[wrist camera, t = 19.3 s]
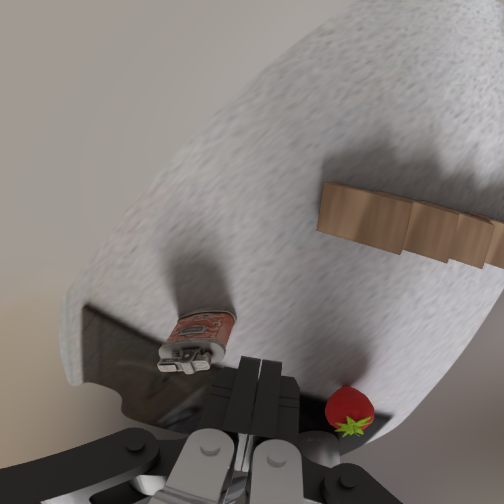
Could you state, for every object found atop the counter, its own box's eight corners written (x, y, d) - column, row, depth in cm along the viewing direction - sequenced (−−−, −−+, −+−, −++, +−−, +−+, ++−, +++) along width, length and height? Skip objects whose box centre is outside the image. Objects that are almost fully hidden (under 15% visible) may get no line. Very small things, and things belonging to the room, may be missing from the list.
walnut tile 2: (381, 191, 31) (458, 212, 26) (372, 234, 33) (446, 257, 28) (376, 192, 29) (459, 215, 24) (367, 239, 31) (447, 263, 26)
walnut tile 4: (468, 211, 30) (528, 231, 25) (459, 250, 31) (517, 269, 27) (470, 213, 28) (533, 234, 23) (460, 254, 30) (521, 275, 25)
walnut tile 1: (331, 181, 31) (413, 201, 27) (324, 226, 33) (402, 249, 29) (323, 182, 29) (411, 204, 25) (316, 230, 31) (400, 255, 27)
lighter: (232, 304, 38) (213, 353, 29) (239, 326, 39) (223, 378, 30) (175, 312, 40) (145, 357, 30) (184, 333, 41) (157, 380, 31)
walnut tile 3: (422, 200, 30) (490, 221, 27) (412, 241, 32) (478, 262, 28) (422, 202, 28) (495, 225, 25) (411, 246, 30) (482, 269, 26)
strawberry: (340, 363, 39) (347, 417, 30) (377, 382, 40) (389, 433, 30) (314, 388, 41) (315, 441, 32) (351, 405, 42) (357, 455, 32)
